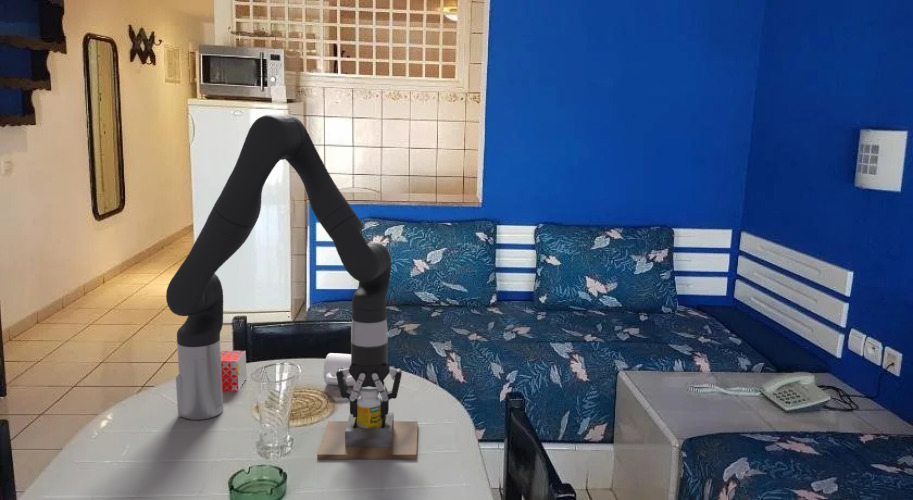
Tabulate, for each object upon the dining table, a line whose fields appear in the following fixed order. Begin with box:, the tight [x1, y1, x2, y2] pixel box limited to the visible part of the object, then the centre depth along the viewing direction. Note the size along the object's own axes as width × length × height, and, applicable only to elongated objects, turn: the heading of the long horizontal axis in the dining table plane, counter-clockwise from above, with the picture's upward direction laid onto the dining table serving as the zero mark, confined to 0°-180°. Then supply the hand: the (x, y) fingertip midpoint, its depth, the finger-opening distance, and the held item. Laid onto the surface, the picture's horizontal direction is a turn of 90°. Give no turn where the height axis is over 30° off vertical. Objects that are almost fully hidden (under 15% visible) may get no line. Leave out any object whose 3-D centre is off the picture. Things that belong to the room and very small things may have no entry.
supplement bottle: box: [357, 386, 382, 428], centre depth 153 cm, size 5×5×10 cm
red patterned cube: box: [221, 350, 248, 392], centre depth 184 cm, size 8×8×8 cm
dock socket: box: [316, 412, 419, 460], centre depth 154 cm, size 20×16×4 cm
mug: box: [323, 352, 362, 388], centre depth 184 cm, size 12×10×8 cm
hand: (369, 415), depth 153 cm, fingers closed on supplement bottle, 5 cm apart
